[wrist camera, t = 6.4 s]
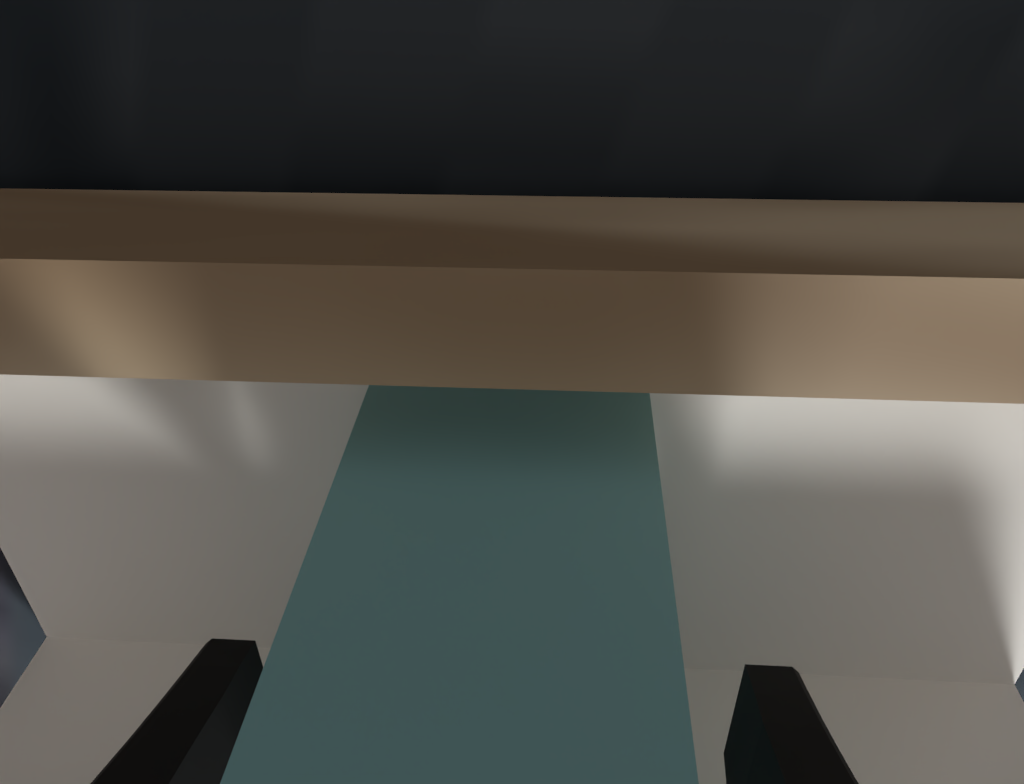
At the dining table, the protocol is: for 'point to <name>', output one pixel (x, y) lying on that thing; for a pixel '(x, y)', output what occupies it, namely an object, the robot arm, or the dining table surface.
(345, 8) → the dining table surface
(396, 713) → the teal block
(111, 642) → the cleat board
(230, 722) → the robot arm
